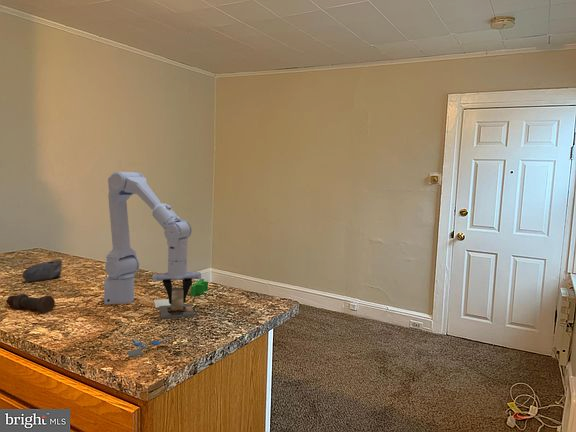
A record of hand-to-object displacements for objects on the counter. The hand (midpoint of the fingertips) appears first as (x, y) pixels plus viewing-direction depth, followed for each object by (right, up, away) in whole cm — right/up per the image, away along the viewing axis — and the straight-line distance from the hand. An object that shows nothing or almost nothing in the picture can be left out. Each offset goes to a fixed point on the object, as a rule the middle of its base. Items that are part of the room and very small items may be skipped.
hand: (176, 302), depth 132 cm
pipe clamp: (+3, -2, +23) cm, 23 cm away
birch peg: (0, -2, 0) cm, 2 cm away
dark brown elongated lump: (-46, -2, 0) cm, 46 cm away
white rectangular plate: (-7, -3, +9) cm, 11 cm away
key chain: (-3, -7, -23) cm, 24 cm away
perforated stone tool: (-61, +2, +33) cm, 70 cm away
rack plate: (0, -4, 0) cm, 4 cm away
